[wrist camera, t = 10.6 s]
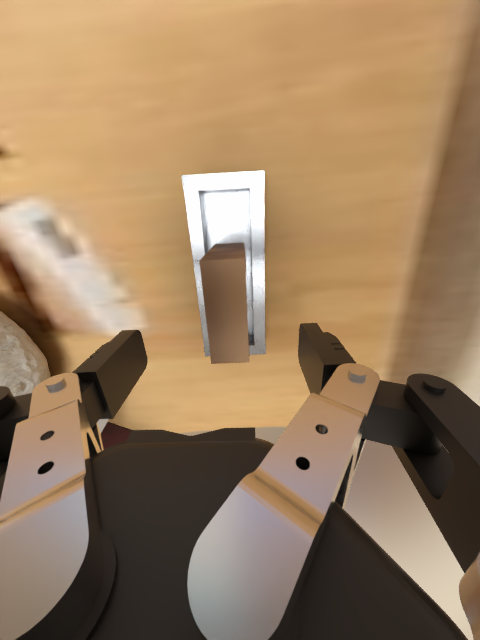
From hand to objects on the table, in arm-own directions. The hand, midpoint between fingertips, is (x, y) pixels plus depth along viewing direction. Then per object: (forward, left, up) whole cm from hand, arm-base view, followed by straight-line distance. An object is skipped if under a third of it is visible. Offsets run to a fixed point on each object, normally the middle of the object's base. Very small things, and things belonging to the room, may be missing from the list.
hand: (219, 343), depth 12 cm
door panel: (0, +1, -15) cm, 15 cm away
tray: (0, 0, -16) cm, 16 cm away
